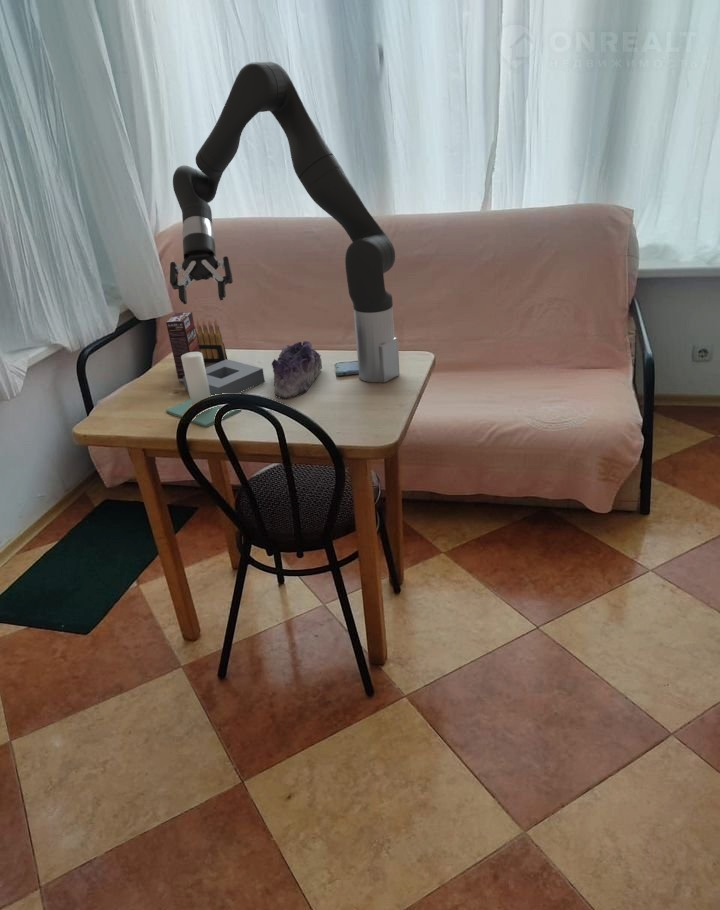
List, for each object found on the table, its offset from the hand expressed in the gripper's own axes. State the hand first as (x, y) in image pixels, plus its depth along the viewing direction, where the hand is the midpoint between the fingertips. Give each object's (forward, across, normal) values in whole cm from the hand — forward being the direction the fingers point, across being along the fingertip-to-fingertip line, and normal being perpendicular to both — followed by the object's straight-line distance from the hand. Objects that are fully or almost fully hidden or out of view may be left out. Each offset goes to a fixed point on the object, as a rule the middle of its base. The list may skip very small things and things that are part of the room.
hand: (202, 300), depth 147 cm
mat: (+25, -3, +6) cm, 26 cm away
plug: (+25, -3, +5) cm, 26 cm away
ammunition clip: (+1, -5, +30) cm, 31 cm away
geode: (+18, +19, +14) cm, 30 cm away
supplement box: (+8, -9, +23) cm, 26 cm away
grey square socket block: (+15, +1, +16) cm, 22 cm away
